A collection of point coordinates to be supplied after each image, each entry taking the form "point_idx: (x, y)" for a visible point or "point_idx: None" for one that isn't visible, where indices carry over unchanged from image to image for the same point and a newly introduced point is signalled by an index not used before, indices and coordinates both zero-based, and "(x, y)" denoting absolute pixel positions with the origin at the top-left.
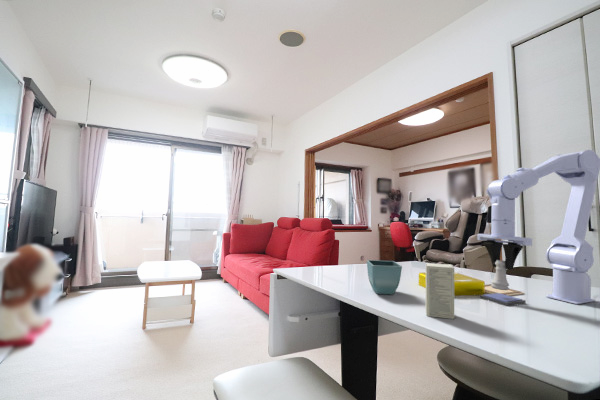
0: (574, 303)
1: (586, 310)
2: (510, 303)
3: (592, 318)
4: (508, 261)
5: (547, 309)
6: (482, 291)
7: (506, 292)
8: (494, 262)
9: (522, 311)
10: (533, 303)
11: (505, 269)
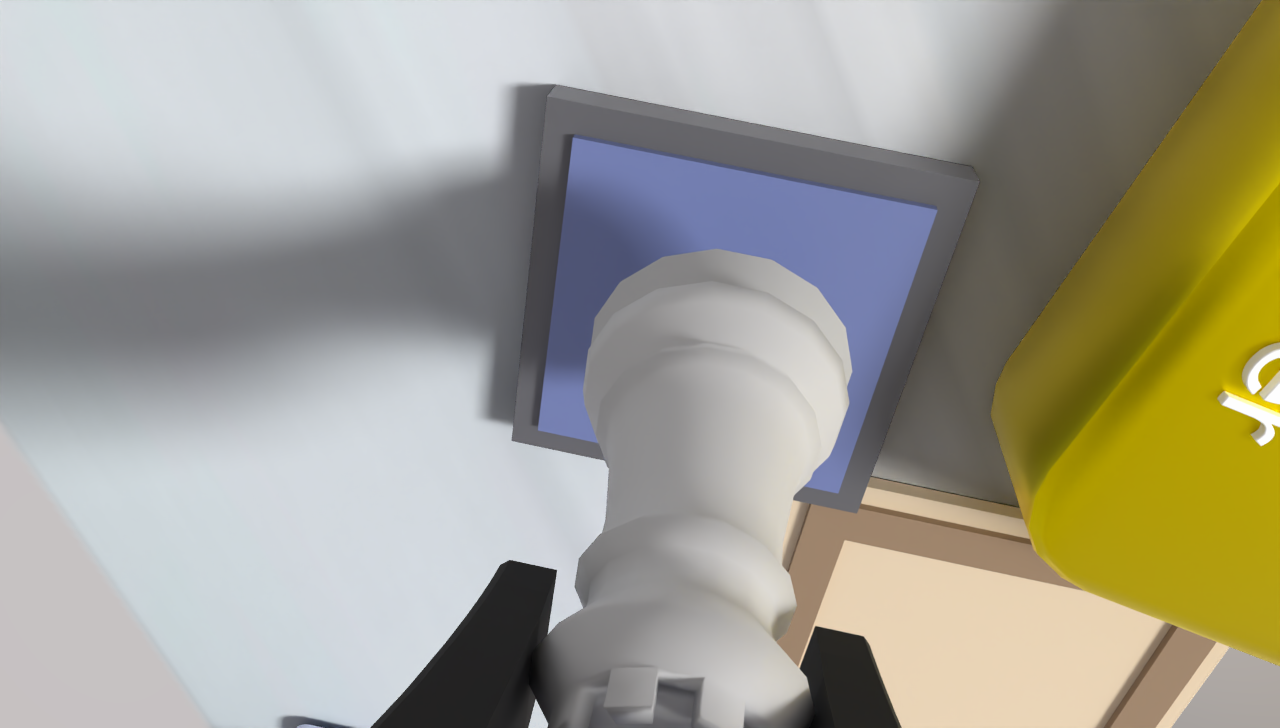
0: (315, 726)
1: (178, 615)
2: (540, 162)
3: (3, 410)
4: (416, 683)
5: (299, 374)
6: (1012, 394)
7: (808, 630)
8: (821, 707)
9: (343, 16)
10: (483, 485)
11: (585, 588)
